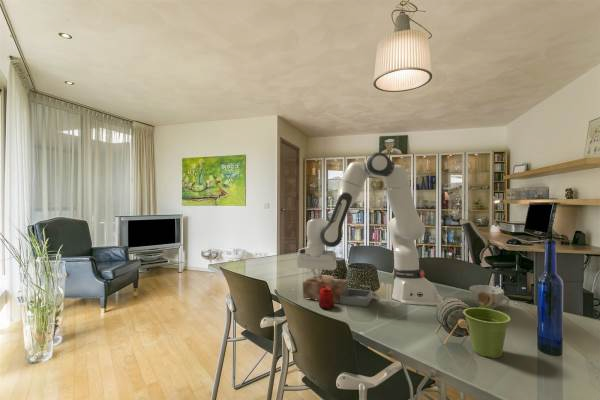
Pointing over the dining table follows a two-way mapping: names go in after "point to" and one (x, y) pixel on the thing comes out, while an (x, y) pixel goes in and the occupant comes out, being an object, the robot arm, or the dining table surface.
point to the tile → (325, 279)
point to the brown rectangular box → (337, 286)
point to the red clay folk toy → (326, 297)
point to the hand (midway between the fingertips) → (316, 277)
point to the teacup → (488, 290)
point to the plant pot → (487, 330)
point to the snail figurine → (485, 300)
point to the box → (356, 297)
